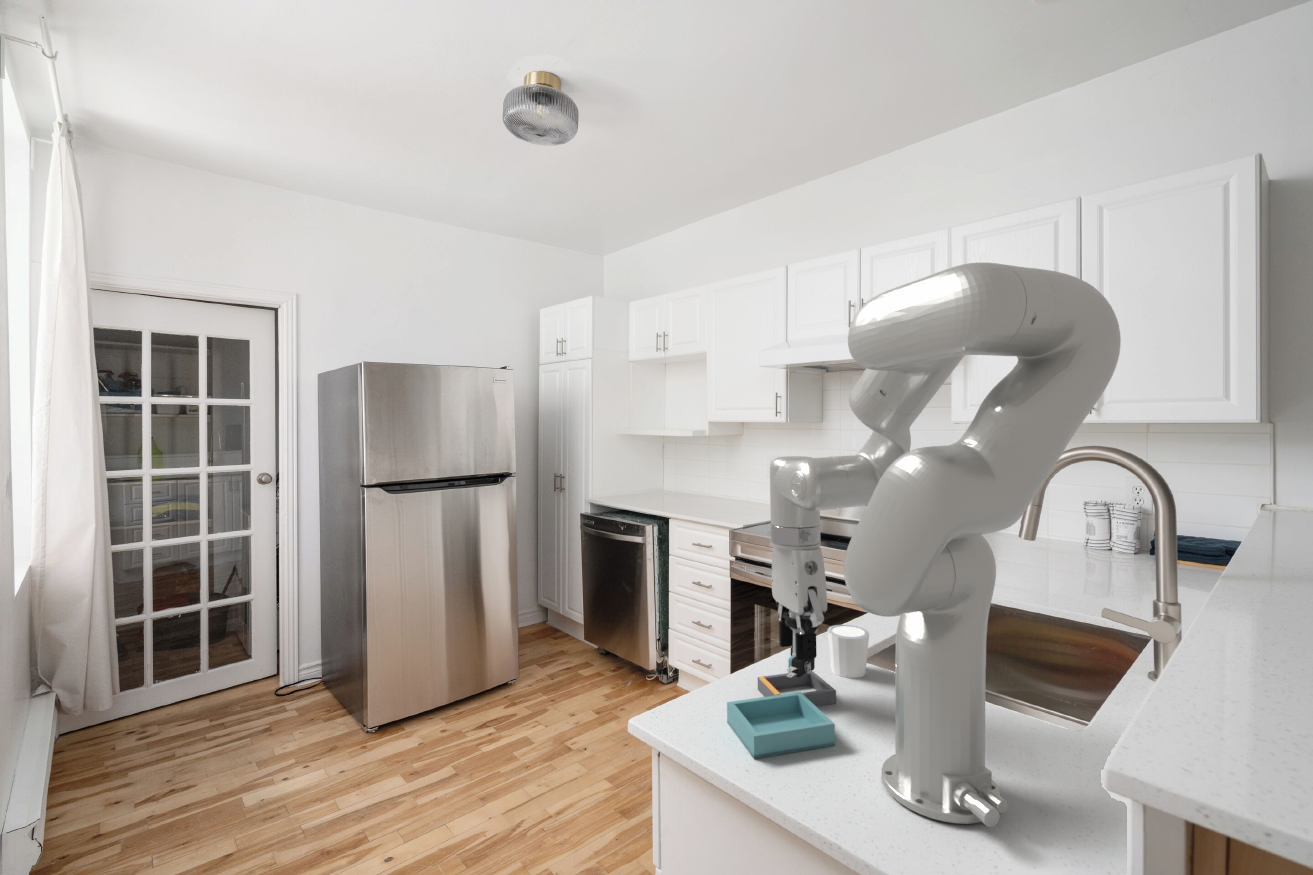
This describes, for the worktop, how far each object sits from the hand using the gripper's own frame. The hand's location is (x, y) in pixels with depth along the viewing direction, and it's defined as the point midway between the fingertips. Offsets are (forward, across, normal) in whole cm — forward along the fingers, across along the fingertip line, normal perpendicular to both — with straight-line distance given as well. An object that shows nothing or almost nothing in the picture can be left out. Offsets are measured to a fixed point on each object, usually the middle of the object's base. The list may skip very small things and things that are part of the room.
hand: (797, 650), depth 94 cm
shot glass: (+8, +7, -13) cm, 16 cm away
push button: (+4, 0, 0) cm, 4 cm away
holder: (+7, +1, 0) cm, 7 cm away
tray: (+8, -9, +8) cm, 14 cm away
